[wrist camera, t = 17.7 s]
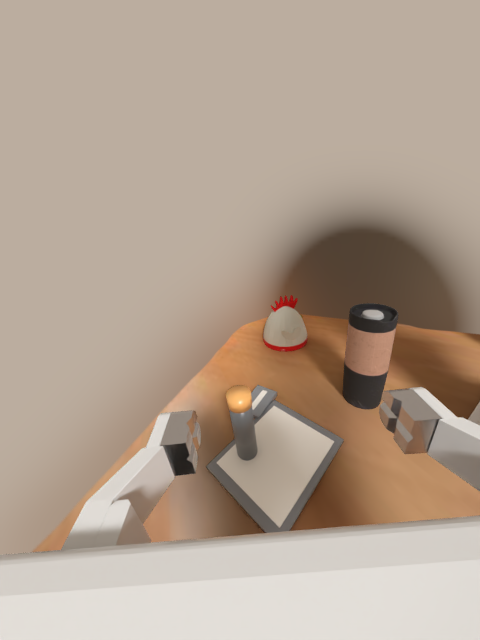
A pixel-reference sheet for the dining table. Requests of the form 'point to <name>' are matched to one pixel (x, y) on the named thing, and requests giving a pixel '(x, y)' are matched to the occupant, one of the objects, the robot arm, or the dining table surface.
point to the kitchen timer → (285, 327)
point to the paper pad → (277, 467)
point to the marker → (242, 421)
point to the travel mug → (368, 353)
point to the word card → (261, 400)
